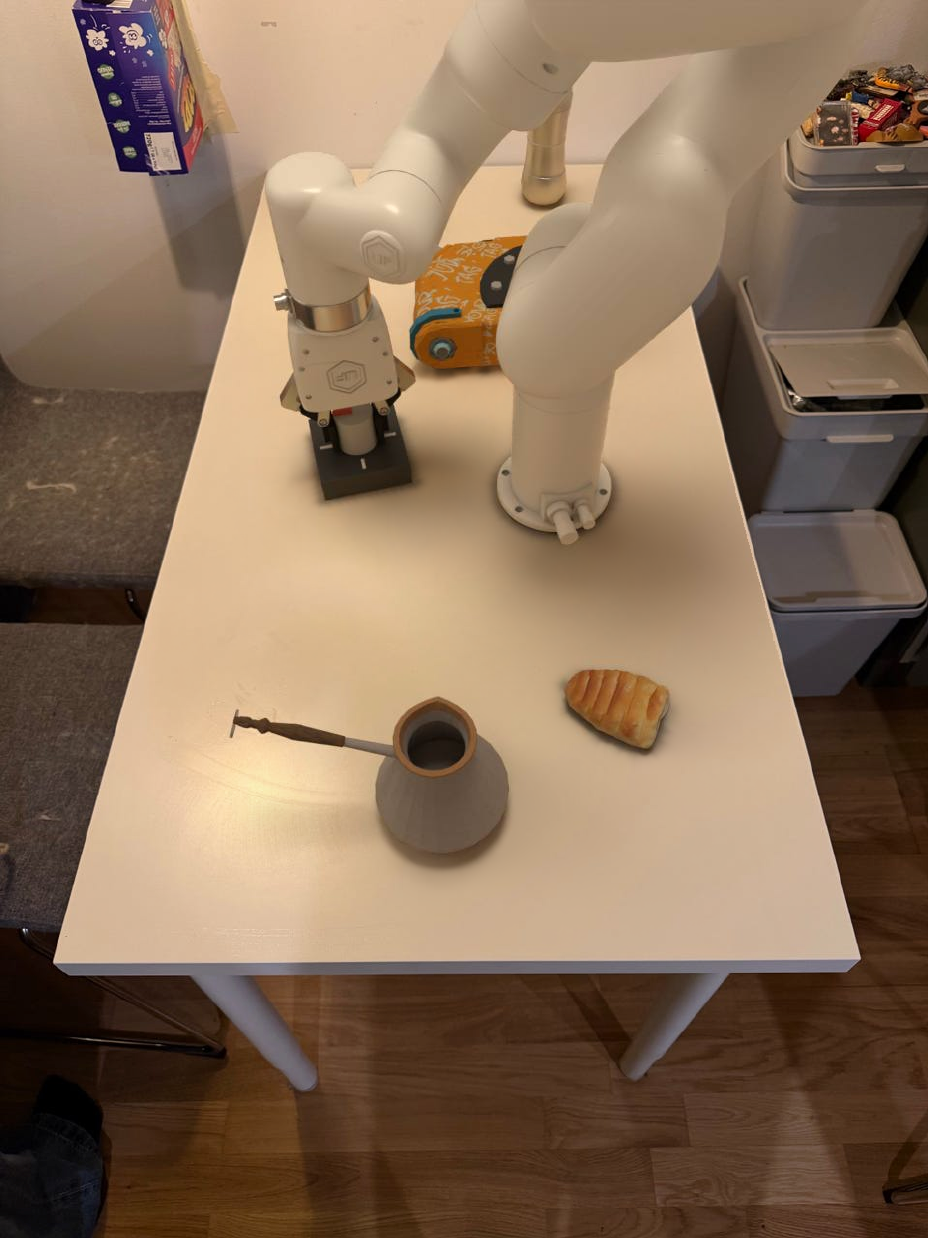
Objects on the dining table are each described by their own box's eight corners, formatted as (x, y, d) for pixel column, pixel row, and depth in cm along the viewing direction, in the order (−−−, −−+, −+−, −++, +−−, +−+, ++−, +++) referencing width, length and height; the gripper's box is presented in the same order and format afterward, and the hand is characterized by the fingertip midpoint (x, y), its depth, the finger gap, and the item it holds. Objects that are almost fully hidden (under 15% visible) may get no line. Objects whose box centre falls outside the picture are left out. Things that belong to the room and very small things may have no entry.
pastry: (553, 720, 78) (556, 701, 75) (577, 662, 81) (581, 642, 78) (651, 756, 76) (658, 738, 73) (672, 695, 79) (679, 675, 76)
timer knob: (373, 423, 96) (368, 391, 92) (380, 451, 93) (375, 419, 89) (335, 431, 95) (328, 398, 91) (341, 458, 93) (334, 426, 89)
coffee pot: (510, 741, 77) (513, 659, 64) (506, 866, 71) (509, 802, 58) (281, 733, 78) (239, 650, 66) (258, 855, 72) (207, 790, 59)
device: (401, 213, 109) (630, 197, 109) (406, 270, 116) (622, 255, 116) (407, 326, 97) (665, 307, 97) (413, 382, 104) (654, 364, 104)
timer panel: (412, 483, 95) (410, 463, 92) (325, 500, 94) (320, 481, 91) (395, 422, 100) (393, 402, 97) (312, 438, 99) (307, 418, 96)
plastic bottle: (543, 180, 127) (551, 31, 110) (574, 199, 124) (587, 48, 107) (511, 197, 125) (514, 47, 108) (542, 216, 122) (550, 65, 105)
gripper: (244, 339, 76) (286, 478, 91) (427, 307, 77) (438, 448, 93) (237, 289, 80) (278, 430, 95) (411, 259, 81) (424, 402, 97)
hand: (357, 437), depth 94 cm, fingers closed on timer knob, 4 cm apart
